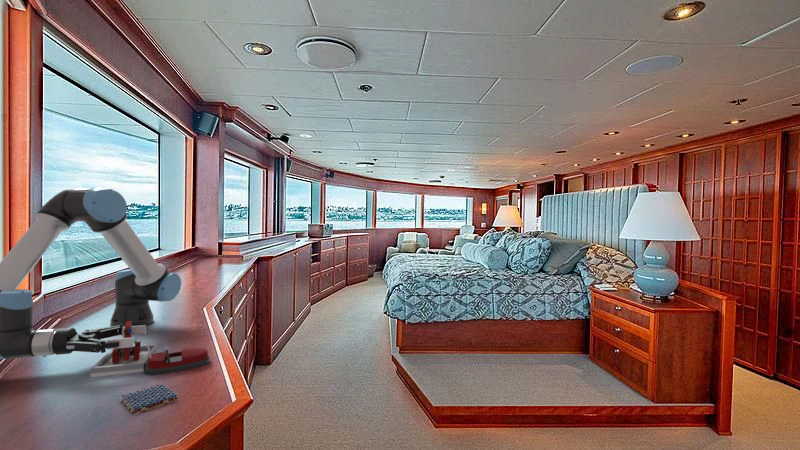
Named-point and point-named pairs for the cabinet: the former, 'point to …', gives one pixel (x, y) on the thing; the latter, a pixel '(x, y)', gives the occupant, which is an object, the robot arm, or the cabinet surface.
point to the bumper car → (175, 360)
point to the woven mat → (149, 398)
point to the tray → (123, 363)
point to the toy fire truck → (127, 352)
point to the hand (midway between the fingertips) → (139, 335)
